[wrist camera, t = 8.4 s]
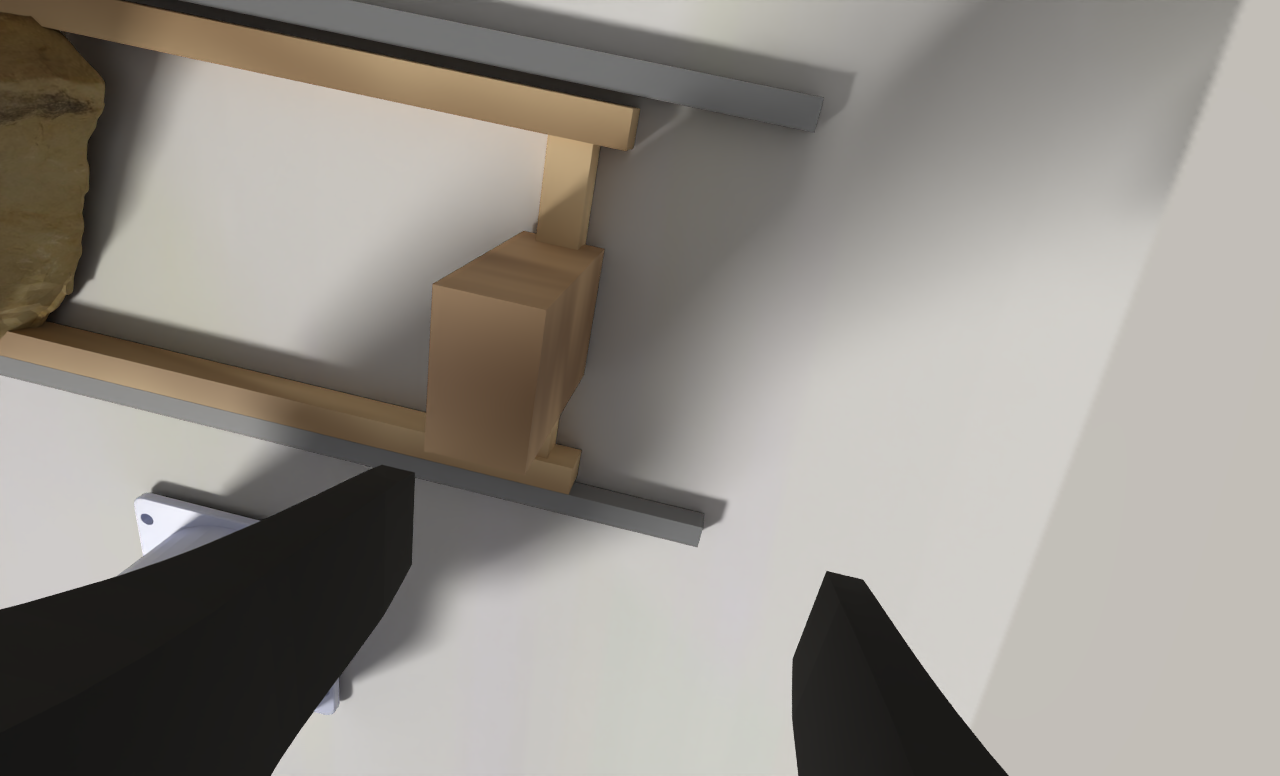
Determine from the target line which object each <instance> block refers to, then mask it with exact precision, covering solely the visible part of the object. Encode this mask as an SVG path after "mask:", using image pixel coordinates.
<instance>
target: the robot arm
mask: <svg viewBox="0 0 1280 776" xmlns="http://www.w3.org/2000/svg"><path fill="white" fill-rule="evenodd" d="M414 486H415V472H411V471H407V470H402V469H398V468H394V467H390V466H386V465H380V466H377V467H375V468H372V469H370V470H368V471H366V472H364V473H361V474H359V475H357V476H355V477H353V478H351V479H349V480H347V481H345V482H342V483H340V484H338V485H336V486H334V487H332V488H330V489H328V490H326V491H324V492H322V493H320V494H318V495H316V496H313V497H311V498H309V499H307V500H305V501H303V502H301V503H299V504H296V505H294V506H292V507H290V508H288V509H286V510H284V511H282V512H279V513H277V514H275V515H273V516H271V517H269V518H266V519H264V520H262V521H259V520H255V519H251V518H247V517H243V516H240V515H236V514H232V513H228V512H224V511H220V510H216V509H212V508H208V507H204V506H200V505H196V504H192V503H188V502H185V501H181V500H177V499H173V498H169V497H165V496H161V495H157V494H153V493H144V494H142V495H141V496H139V497H138V498H136V500H135V501H134V507H135V513H136V518H137V524H138V529H139V535H140V541H141V546H142V552H143V557H141V558H140V559H139V560H137V561H136V562H135V563H134V564H132V565H131V566H130V567H128V568H127V569H126V570H124V571H123V572H122V573H120V574H119V575H118V576H116V577H113V578H110V579H107V580H104V581H100V582H97V583H93V584H90V585H86V586H83V587H80V588H76V589H73V590H69V591H66V592H62V593H59V594H55V595H52V596H48V597H45V598H41V599H38V600H34V601H31V602H27V603H24V604H20V605H16V606H13V607H9V608H5V609H1V610H0V776H271V774H272V773H273V771H274V769H275V768H276V766H277V764H278V763H279V761H280V759H281V758H282V756H283V755H284V753H285V752H286V750H287V749H288V747H289V746H290V744H291V743H292V741H293V740H294V738H295V737H296V735H297V734H298V733H299V731H300V730H301V728H302V727H303V726H304V724H305V723H306V721H307V720H308V719H309V717H310V716H311V715H312V713H313V712H317V713H321V714H324V715H330V714H333V713H334V712H335V711H336V709H337V708H338V706H339V676H340V675H341V674H342V672H343V671H344V670H345V668H346V667H347V666H348V664H349V663H350V661H351V660H352V659H353V657H354V656H355V655H356V653H357V652H358V651H359V649H360V648H361V646H362V645H363V644H364V642H365V641H366V639H367V638H368V637H369V635H370V634H371V633H372V631H373V630H374V628H375V627H376V626H377V624H378V623H379V621H380V620H381V618H382V617H383V616H384V614H385V612H386V610H387V609H388V607H389V605H390V603H391V602H392V600H393V598H394V596H395V595H396V593H397V591H398V589H399V587H400V585H401V584H402V582H403V580H404V578H405V576H406V574H407V572H408V570H409V569H410V567H411V565H412V541H413V514H414ZM792 721H793V731H794V740H795V749H796V758H797V767H798V776H1008V775H1007V773H1006V772H1005V771H1004V770H1003V768H1002V767H1001V766H1000V765H999V764H998V763H997V761H996V760H995V759H994V758H993V757H992V756H991V755H990V753H989V752H988V751H987V750H986V748H985V747H984V746H983V745H982V743H981V742H980V741H979V740H978V738H977V737H976V736H975V735H974V733H973V732H972V731H971V729H970V728H969V727H968V726H967V724H966V723H965V722H964V721H963V719H962V718H961V717H960V716H959V714H958V713H957V712H956V711H955V709H954V708H953V707H952V705H951V704H950V703H949V701H948V700H947V699H946V697H945V696H944V695H943V693H942V692H941V691H940V689H939V688H938V687H937V685H936V684H935V683H934V681H933V680H932V679H931V677H930V676H929V674H928V673H927V672H926V670H925V669H924V667H923V666H922V665H921V663H920V662H919V660H918V659H917V658H916V656H915V655H914V653H913V652H912V650H911V649H910V648H909V646H908V645H907V643H906V642H905V640H904V639H903V637H902V636H901V634H900V633H899V631H898V630H897V629H896V627H895V626H894V624H893V623H892V621H891V620H890V618H889V617H888V615H887V614H886V612H885V611H884V609H883V608H882V606H881V605H880V603H879V602H878V600H877V599H876V598H875V596H874V595H873V593H872V592H871V590H870V589H869V587H868V586H867V585H866V583H865V582H864V580H862V579H858V578H854V577H850V576H845V575H841V574H837V573H833V572H829V571H826V574H825V576H824V579H823V582H822V584H821V587H820V589H819V592H818V595H817V597H816V600H815V602H814V605H813V608H812V610H811V613H810V615H809V618H808V621H807V623H806V626H805V628H804V631H803V633H802V636H801V639H800V641H799V644H798V646H797V649H796V652H795V654H794V657H793V666H792Z"/></svg>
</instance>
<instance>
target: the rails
mask: <svg viewBox="0 0 1280 776" xmlns="http://www.w3.org/2000/svg"><path fill="white" fill-rule="evenodd" d="M180 1H185V2H190V3H195V4H199V5H204V6H209V7H214V8H219V9H223V10H228V11H233V12H238V13H243V14H247V15H252V16H257V17H262V18H267V19H271V20H276V21H281V22H286V23H291V24H295V25H300V26H305V27H310V28H315V29H319V30H324V31H329V32H334V33H339V34H343V35H348V36H353V37H358V38H363V39H367V40H372V41H377V42H382V43H387V44H391V45H396V46H401V47H406V48H411V49H415V50H420V51H425V52H430V53H435V54H439V55H444V56H449V57H454V58H459V59H463V60H468V61H473V62H478V63H483V64H487V65H492V66H497V67H502V68H507V69H511V70H516V71H521V72H526V73H531V74H535V75H540V76H545V77H550V78H555V79H559V80H564V81H569V82H574V83H579V84H583V85H588V86H593V87H598V88H603V89H607V90H612V91H617V92H622V93H627V94H631V95H636V96H641V97H646V98H651V99H655V100H660V101H665V102H670V103H675V104H679V105H684V106H689V107H694V108H699V109H703V110H708V111H713V112H718V113H723V114H727V115H732V116H737V117H742V118H747V119H751V120H756V121H761V122H766V123H770V124H775V125H780V126H785V127H790V128H794V129H799V130H804V131H809V132H815V128H816V125H817V121H818V118H819V114H820V111H821V107H822V104H823V100H824V97H819V96H814V95H809V94H804V93H799V92H795V91H790V90H785V89H780V88H775V87H770V86H765V85H760V84H756V83H751V82H746V81H741V80H736V79H731V78H726V77H721V76H717V75H712V74H707V73H702V72H697V71H692V70H687V69H682V68H678V67H673V66H668V65H663V64H658V63H653V62H648V61H643V60H639V59H634V58H629V57H624V56H619V55H614V54H609V53H604V52H600V51H595V50H590V49H585V48H580V47H575V46H570V45H565V44H561V43H556V42H551V41H546V40H541V39H536V38H531V37H526V36H522V35H517V34H512V33H507V32H502V31H497V30H492V29H487V28H483V27H478V26H473V25H468V24H463V23H458V22H453V21H448V20H444V19H439V18H434V17H429V16H424V15H419V14H414V13H409V12H405V11H400V10H395V9H390V8H385V7H380V6H375V5H370V4H366V3H361V2H356V1H351V0H180ZM0 375H2V376H6V377H10V378H14V379H18V380H23V381H27V382H31V383H35V384H39V385H43V386H47V387H51V388H55V389H59V390H63V391H67V392H71V393H75V394H79V395H83V396H87V397H91V398H95V399H99V400H103V401H108V402H112V403H116V404H120V405H124V406H128V407H132V408H136V409H140V410H144V411H148V412H152V413H156V414H160V415H164V416H168V417H172V418H176V419H180V420H184V421H188V422H193V423H197V424H201V425H205V426H209V427H213V428H217V429H221V430H225V431H229V432H233V433H237V434H241V435H245V436H249V437H253V438H257V439H261V440H265V441H269V442H273V443H278V444H282V445H286V446H290V447H294V448H298V449H302V450H306V451H310V452H314V453H318V454H322V455H326V456H330V457H334V458H338V459H342V460H346V461H350V462H354V463H358V464H363V465H367V466H371V467H377V466H380V465H386V466H390V467H394V468H398V469H402V470H407V471H411V472H415V478H419V479H423V480H427V481H431V482H435V483H439V484H443V485H448V486H452V487H456V488H460V489H464V490H468V491H472V492H476V493H480V494H484V495H488V496H492V497H496V498H500V499H504V500H508V501H512V502H516V503H520V504H524V505H528V506H532V507H537V508H541V509H545V510H549V511H553V512H557V513H561V514H565V515H569V516H573V517H577V518H581V519H585V520H589V521H593V522H597V523H601V524H605V525H609V526H613V527H617V528H622V529H626V530H630V531H634V532H638V533H642V534H646V535H650V536H654V537H658V538H662V539H666V540H670V541H674V542H678V543H682V544H686V545H690V546H694V547H698V543H699V540H700V536H701V533H702V529H703V521H704V514H703V513H699V512H695V511H691V510H687V509H682V508H678V507H674V506H670V505H666V504H662V503H658V502H654V501H650V500H646V499H641V498H637V497H633V496H629V495H625V494H621V493H617V492H613V491H609V490H605V489H600V488H596V487H592V486H588V485H584V484H580V483H576V482H574V484H573V486H572V488H571V490H570V493H569V495H568V494H564V493H560V492H556V491H552V490H548V489H543V488H539V487H535V486H531V485H527V484H523V483H519V482H515V481H511V480H507V479H503V478H499V477H495V476H490V475H486V474H482V473H478V472H474V471H470V470H466V469H462V468H458V467H454V466H450V465H446V464H442V463H437V462H433V461H429V460H425V459H421V458H417V457H413V456H409V455H405V454H401V453H397V452H393V451H388V450H384V449H380V448H376V447H372V446H368V445H364V444H360V443H356V442H352V441H348V440H344V439H340V438H335V437H331V436H327V435H323V434H319V433H315V432H311V431H307V430H303V429H299V428H295V427H291V426H287V425H282V424H278V423H274V422H270V421H266V420H262V419H258V418H254V417H250V416H246V415H242V414H238V413H234V412H229V411H225V410H221V409H217V408H213V407H209V406H205V405H201V404H197V403H193V402H189V401H185V400H181V399H176V398H172V397H168V396H164V395H160V394H156V393H152V392H148V391H144V390H140V389H136V388H132V387H127V386H123V385H119V384H115V383H111V382H107V381H103V380H99V379H95V378H91V377H87V376H83V375H79V374H74V373H70V372H66V371H62V370H58V369H54V368H50V367H46V366H42V365H38V364H34V363H30V362H26V361H21V360H17V359H13V358H9V357H5V356H1V355H0Z"/></svg>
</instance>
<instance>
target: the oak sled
mask: <svg viewBox="0 0 1280 776" xmlns="http://www.w3.org/2000/svg"><path fill="white" fill-rule="evenodd" d="M0 12H6V13H12V14H17V15H23V16H32V17H33V18H34V19H35V20H36V21H37V22H38V23H39V24H40V25H41V26H42V27H47V28H51V29H56V30H61V31H65V32H70V33H75V34H80V35H84V36H89V37H94V38H98V39H103V40H108V41H112V42H117V43H122V44H126V45H131V46H136V47H140V48H145V49H150V50H154V51H159V52H164V53H168V54H173V55H178V56H183V57H187V58H192V59H197V60H201V61H206V62H211V63H215V64H220V65H225V66H229V67H234V68H239V69H243V70H248V71H253V72H257V73H262V74H267V75H272V76H276V77H281V78H286V79H290V80H295V81H300V82H304V83H309V84H314V85H318V86H323V87H328V88H332V89H337V90H342V91H346V92H351V93H356V94H361V95H365V96H370V97H375V98H379V99H384V100H389V101H393V102H398V103H403V104H407V105H412V106H417V107H421V108H426V109H431V110H435V111H440V112H445V113H450V114H454V115H459V116H464V117H468V118H473V119H478V120H482V121H487V122H492V123H496V124H501V125H506V126H510V127H515V128H520V129H524V130H529V131H534V132H539V133H543V134H548V139H547V148H546V156H545V165H544V173H543V182H542V190H541V199H540V207H539V216H538V224H537V233H536V234H535V233H531V232H526V231H523V232H521V233H519V234H517V235H516V236H514V237H512V238H511V239H509V240H507V241H505V242H504V243H502V244H500V245H499V246H497V247H495V248H494V249H492V250H490V251H488V252H487V253H485V254H483V255H482V256H480V257H478V258H476V259H475V260H473V261H471V262H470V263H468V264H466V265H464V266H463V267H461V268H459V269H458V270H456V271H454V272H452V273H451V274H449V275H447V276H446V277H444V278H442V279H440V280H439V281H437V282H435V283H434V284H433V286H432V305H431V325H430V344H429V364H428V384H427V403H426V413H425V412H421V411H417V410H413V409H409V408H405V407H400V406H396V405H392V404H388V403H384V402H380V401H375V400H371V399H367V398H363V397H359V396H355V395H351V394H346V393H342V392H338V391H334V390H330V389H326V388H322V387H317V386H313V385H309V384H305V383H301V382H297V381H292V380H288V379H284V378H280V377H276V376H272V375H268V374H263V373H259V372H255V371H251V370H247V369H243V368H239V367H234V366H230V365H226V364H222V363H218V362H214V361H210V360H205V359H201V358H197V357H193V356H189V355H185V354H180V353H176V352H172V351H168V350H164V349H160V348H156V347H151V346H147V345H143V344H139V343H135V342H131V341H127V340H122V339H118V338H114V337H110V336H106V335H102V334H97V333H93V332H89V331H85V330H81V329H77V328H73V327H68V326H64V325H60V324H56V323H52V322H48V321H45V322H44V323H43V324H42V325H41V327H37V328H34V327H29V328H24V329H18V330H12V331H7V332H6V334H5V335H4V336H3V337H2V338H1V339H0V355H1V356H5V357H9V358H13V359H17V360H21V361H26V362H30V363H34V364H38V365H42V366H46V367H50V368H54V369H58V370H62V371H66V372H70V373H74V374H79V375H83V376H87V377H91V378H95V379H99V380H103V381H107V382H111V383H115V384H119V385H123V386H127V387H132V388H136V389H140V390H144V391H148V392H152V393H156V394H160V395H164V396H168V397H172V398H176V399H181V400H185V401H189V402H193V403H197V404H201V405H205V406H209V407H213V408H217V409H221V410H225V411H229V412H234V413H238V414H242V415H246V416H250V417H254V418H258V419H262V420H266V421H270V422H274V423H278V424H282V425H287V426H291V427H295V428H299V429H303V430H307V431H311V432H315V433H319V434H323V435H327V436H331V437H335V438H340V439H344V440H348V441H352V442H356V443H360V444H364V445H368V446H372V447H376V448H380V449H384V450H388V451H393V452H397V453H401V454H405V455H409V456H413V457H417V458H421V459H425V460H429V461H433V462H437V463H442V464H446V465H450V466H454V467H458V468H462V469H466V470H470V471H474V472H478V473H482V474H486V475H490V476H495V477H499V478H503V479H507V480H511V481H515V482H519V483H523V484H527V485H531V486H535V487H539V488H543V489H548V490H552V491H556V492H560V493H564V494H568V495H569V493H570V490H571V488H572V486H573V484H574V481H575V479H576V477H577V474H578V468H579V462H580V456H581V451H582V450H579V449H575V448H571V447H566V446H562V445H558V444H555V443H556V437H557V430H558V423H559V417H560V415H561V413H562V411H563V409H564V408H565V406H566V404H567V403H568V401H569V399H570V398H571V396H572V394H573V392H574V391H575V389H576V387H577V386H578V384H579V382H580V381H581V379H582V377H583V375H584V371H585V365H586V359H587V353H588V347H589V341H590V335H591V328H592V322H593V316H594V310H595V304H596V298H597V292H598V286H599V280H600V274H601V268H602V261H603V255H604V249H602V248H598V247H593V246H589V245H586V238H587V231H588V225H589V218H590V212H591V205H592V198H593V192H594V185H595V179H596V172H597V165H598V159H599V152H600V146H604V147H609V148H613V149H618V150H623V151H628V150H630V149H633V148H634V142H635V136H636V131H637V125H638V119H639V113H640V108H636V107H631V106H626V105H622V104H617V103H612V102H607V101H602V100H598V99H593V98H588V97H583V96H579V95H574V94H569V93H564V92H559V91H555V90H550V89H545V88H540V87H536V86H531V85H526V84H521V83H516V82H512V81H507V80H502V79H497V78H493V77H488V76H483V75H478V74H474V73H469V72H464V71H459V70H454V69H450V68H445V67H440V66H435V65H431V64H426V63H421V62H416V61H411V60H407V59H402V58H397V57H392V56H388V55H383V54H378V53H373V52H368V51H364V50H359V49H354V48H349V47H345V46H340V45H335V44H330V43H326V42H321V41H316V40H311V39H306V38H302V37H297V36H292V35H287V34H283V33H278V32H273V31H268V30H263V29H259V28H254V27H249V26H244V25H240V24H235V23H230V22H225V21H220V20H216V19H211V18H206V17H201V16H197V15H192V14H187V13H182V12H178V11H173V10H168V9H163V8H158V7H154V6H149V5H144V4H139V3H135V2H130V1H125V0H0Z"/></svg>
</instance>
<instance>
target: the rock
mask: <svg viewBox="0 0 1280 776" xmlns="http://www.w3.org/2000/svg"><path fill="white" fill-rule="evenodd" d="M104 95H105V81H104V80H103V79H102V77H101V76H100V75H99V73H98V72H97V71H96V70H95V69H94V68H93V67H91V65H90V64H89V63H88V62H87V61H86V60H85V59H84V58H83V57H82V56H81V55H80V54H79V53H78V51H77V50H76V49H75V48H74V47H73V45H72V44H71V43H70V42H69V41H68V39H67V38H66V37H65V36H64V35H63V34H62V33H61V32H59V31H58V30H56V29H51V28H47V27H42V26H41V25H40V24H39V23H38V22H37V21H36V20H35V19H34V18H33V17H32V16H23V15H17V14H12V13H6V12H0V339H1V338H2V337H3V336H4V335H5V334H6V332H7V331H12V330H18V329H24V328H29V327H34V328H37V327H41V325H42V324H43V323H44V322H45V321H46V319H47V317H48V315H49V314H50V312H52V311H54V310H55V309H57V308H58V307H59V306H60V304H61V303H62V301H63V300H64V298H65V296H66V294H67V295H69V294H71V293H72V292H73V286H74V275H75V271H76V268H77V265H78V261H79V259H80V257H81V255H82V244H81V241H82V235H83V232H84V220H83V215H82V211H83V207H84V195H85V194H86V193H87V192H88V191H89V174H90V173H89V164H88V161H87V143H88V140H89V138H90V136H91V135H92V133H93V131H94V130H95V128H96V125H97V119H98V118H99V117H100V115H101V114H102V112H103V109H104V106H105V104H104Z"/></svg>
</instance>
